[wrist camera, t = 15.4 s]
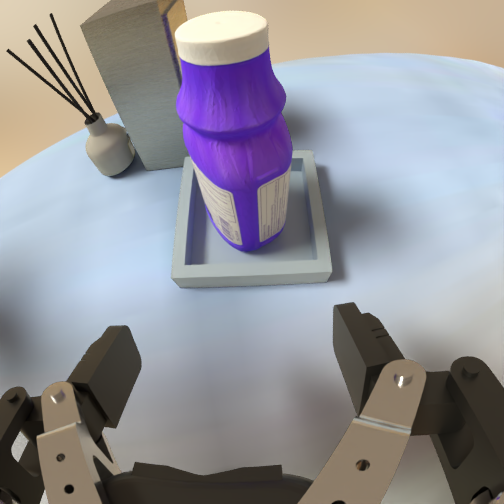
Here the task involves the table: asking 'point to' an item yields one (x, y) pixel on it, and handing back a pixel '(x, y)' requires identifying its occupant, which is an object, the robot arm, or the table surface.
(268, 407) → the table surface
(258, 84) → the bottle
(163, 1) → the grey slotted box
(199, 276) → the tray
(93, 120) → the reed diffuser
